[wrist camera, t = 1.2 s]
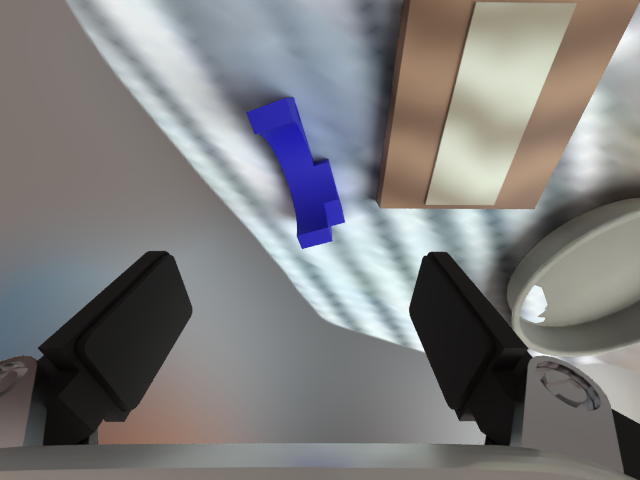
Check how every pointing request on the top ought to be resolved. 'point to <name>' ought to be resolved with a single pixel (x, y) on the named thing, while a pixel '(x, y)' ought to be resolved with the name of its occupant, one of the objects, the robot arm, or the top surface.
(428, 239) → the top surface
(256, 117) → the blue curved stepped block
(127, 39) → the top surface
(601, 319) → the cake pan
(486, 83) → the mounting board
